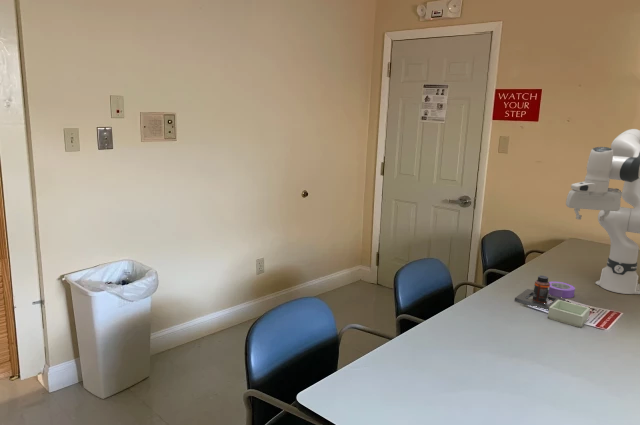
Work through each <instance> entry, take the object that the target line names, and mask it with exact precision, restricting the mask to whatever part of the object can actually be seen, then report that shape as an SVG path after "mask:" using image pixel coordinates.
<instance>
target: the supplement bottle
mask: <svg viewBox="0 0 640 425" xmlns="http://www.w3.org/2000/svg"><path fill="white" fill-rule="evenodd" d="M549 282H550V281H549V277H548V276H545V275H538V276H537V279H536V280H535V281H534V286H533V290H534V292H533V296H532V300H533V301H537V302H541V303H545V304H547V303H548V301H549V300H548V294H549V288H550V283H549ZM549 295H550V294H549Z"/></svg>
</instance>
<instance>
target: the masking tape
mask: <svg viewBox="0 0 640 425" xmlns="http://www.w3.org/2000/svg"><path fill="white" fill-rule="evenodd" d="M548 282H549V283H550V288H549V295H553V296H557V297H562V298H564V299H571V298H574V296H575V292H576V291H575V290H576V287H575V286H573V284H570V283H568V282H567V283H566V282H562V281H548Z"/></svg>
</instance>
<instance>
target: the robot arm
mask: <svg viewBox="0 0 640 425" xmlns="http://www.w3.org/2000/svg"><path fill="white" fill-rule="evenodd" d="M586 163H587V164H586V175H585V177H584V181H580V182H576V183H571V184H570V190H569V191H568V194H567V197H566V200H565V205H566V207H567V208H569V209H574V210H573V211H574V213H575V219H576V220H582V215H581V214H580V213H579V212H580V211H581V209H582V210H591V211H592V210H593V211H594V210H595V211H599V212H598V214H597V221H598V223H599V225H600V227H602V228H603V229H604V230H605V232H606V233H607V235H608V237H609V240H610V250H609V257H608V258H607V259H606V260H607V261H606V266H604V267H603V268H602V270H601V274H600V277H599V278H600V279H599V280H597V281H595V284H596V285H597V286H600V287H601V288H602V289H604V290H607V291H610V292H613V293H618V294H624V295H625V294H626V295H640V283H639V281H638V280H639V275H638V273H637V269H638V262H637V261H638V257H639V250H640V247H639V246H640V245H639V244H638V243H637V242H636V241H635V240H633V239H631V238H630V237H629V236H627V233H634V234H639V235H640V130H639V129H637V128H629V129H626V130H625V131H623V132H622V133H620V134H618V135H617V136H616V137H615V138H614V139H613V141H612V142H611V144H610V147H607V146H597V147H593V148H592V149H591V150H590V153H589V156H588V159H587V162H586ZM611 180H615V181H623V187H622V190H620V189H619V188H613V187H609V185H610V181H611ZM621 198H622V199H623V201H624V202H625V203H627V204H628V205H629V206H632V207H633V208H630V207H624V206H621V203H622V201H621Z"/></svg>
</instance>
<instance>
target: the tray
mask: <svg viewBox="0 0 640 425" xmlns="http://www.w3.org/2000/svg"><path fill="white" fill-rule="evenodd" d="M590 311H591V308H590V307H587V306H584V305H580V304H577V303H572V302H569V301H566V300H565V301H562V300H557V301H556V302H555V303H554V304H552V305H551V306H550V307H549V311H547V312H548V313H547V319H549V320H553V321H557V322H560V323H563V324H567V325H570V326H573V327H577V328H580V329H581V328H582V327H583V326H584V324H586V322H587V321H588V320H589V319H588V318H590ZM587 319H588V320H587Z"/></svg>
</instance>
